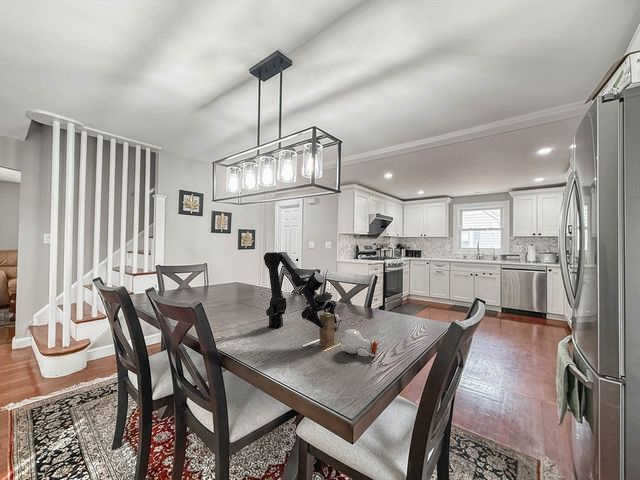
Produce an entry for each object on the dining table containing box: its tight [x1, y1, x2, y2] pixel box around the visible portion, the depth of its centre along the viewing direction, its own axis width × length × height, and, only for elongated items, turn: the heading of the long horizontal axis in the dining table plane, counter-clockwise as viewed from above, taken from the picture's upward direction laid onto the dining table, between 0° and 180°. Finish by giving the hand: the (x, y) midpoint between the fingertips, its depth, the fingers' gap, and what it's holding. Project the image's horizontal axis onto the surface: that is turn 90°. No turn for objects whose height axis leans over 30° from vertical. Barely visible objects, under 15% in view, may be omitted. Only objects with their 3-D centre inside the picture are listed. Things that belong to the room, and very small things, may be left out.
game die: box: [334, 312, 342, 330], centre depth 141 cm, size 9×8×10 cm
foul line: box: [301, 338, 320, 348], centre depth 123 cm, size 18×2×1 cm, turn 138°
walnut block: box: [319, 312, 335, 348], centre depth 119 cm, size 5×5×14 cm
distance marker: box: [322, 342, 341, 353], centre depth 116 cm, size 14×1×1 cm, turn 138°
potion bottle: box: [339, 328, 379, 357], centre depth 109 cm, size 9×10×15 cm
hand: (329, 325), depth 118 cm, fingers open, 9 cm apart
